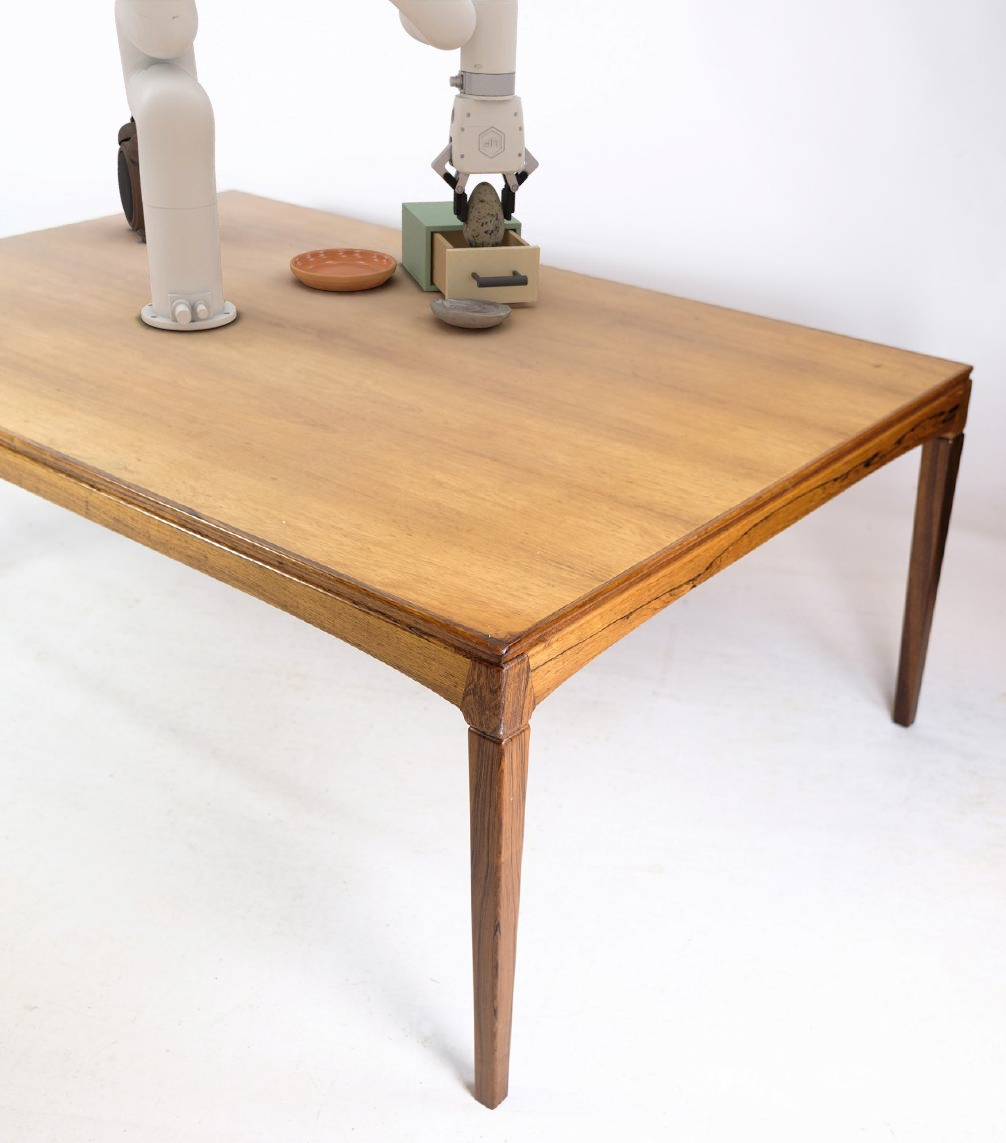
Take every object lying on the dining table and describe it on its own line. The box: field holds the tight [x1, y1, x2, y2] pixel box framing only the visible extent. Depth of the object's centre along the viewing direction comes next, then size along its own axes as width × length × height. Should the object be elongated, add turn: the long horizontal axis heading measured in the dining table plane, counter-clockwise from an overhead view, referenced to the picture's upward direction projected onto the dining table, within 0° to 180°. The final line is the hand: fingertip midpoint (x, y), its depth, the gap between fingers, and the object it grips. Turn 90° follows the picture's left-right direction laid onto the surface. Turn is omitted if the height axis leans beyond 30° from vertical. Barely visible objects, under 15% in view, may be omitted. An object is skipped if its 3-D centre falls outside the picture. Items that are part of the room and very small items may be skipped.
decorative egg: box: [463, 181, 505, 248], centre depth 184 cm, size 6×6×10 cm
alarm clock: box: [117, 113, 146, 243], centre depth 210 cm, size 15×7×20 cm, turn 25°
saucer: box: [289, 247, 398, 292], centre depth 194 cm, size 16×16×3 cm
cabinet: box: [401, 200, 522, 292], centre depth 198 cm, size 16×15×10 cm
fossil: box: [428, 298, 513, 329], centre depth 177 cm, size 10×12×3 cm
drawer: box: [430, 229, 541, 304], centre depth 186 cm, size 19×13×8 cm
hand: (483, 218), depth 184 cm, fingers closed on decorative egg, 5 cm apart
